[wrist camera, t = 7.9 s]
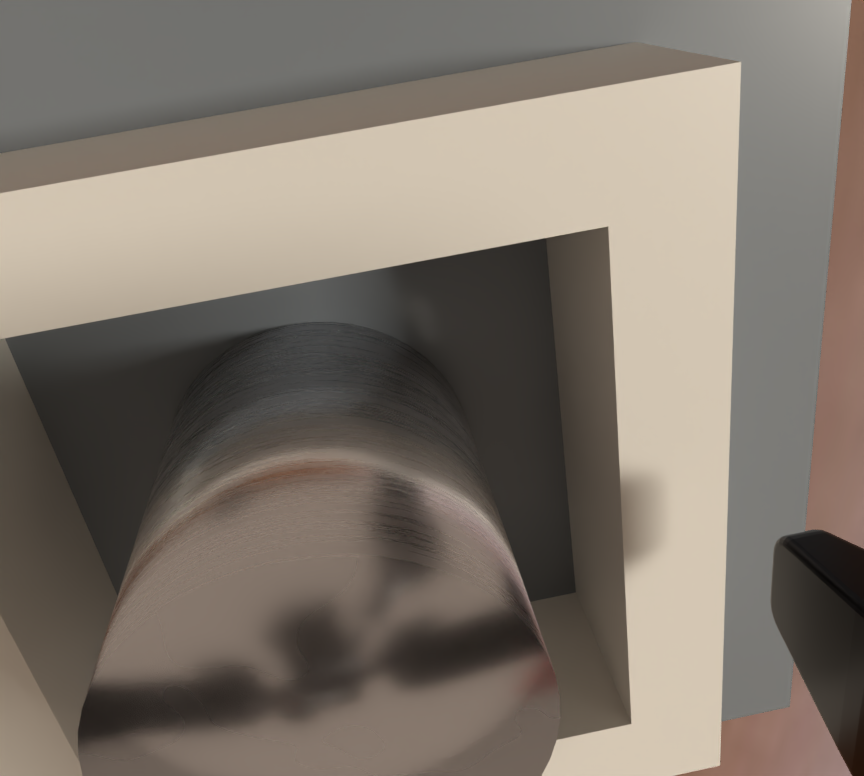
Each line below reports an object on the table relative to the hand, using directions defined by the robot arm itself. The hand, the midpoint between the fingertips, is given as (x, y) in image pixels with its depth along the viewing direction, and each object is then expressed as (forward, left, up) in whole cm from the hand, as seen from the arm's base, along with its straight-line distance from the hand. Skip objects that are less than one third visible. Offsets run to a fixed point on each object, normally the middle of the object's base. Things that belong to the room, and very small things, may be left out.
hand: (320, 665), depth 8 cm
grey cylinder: (0, 0, -4) cm, 4 cm away
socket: (0, 0, -4) cm, 4 cm away
